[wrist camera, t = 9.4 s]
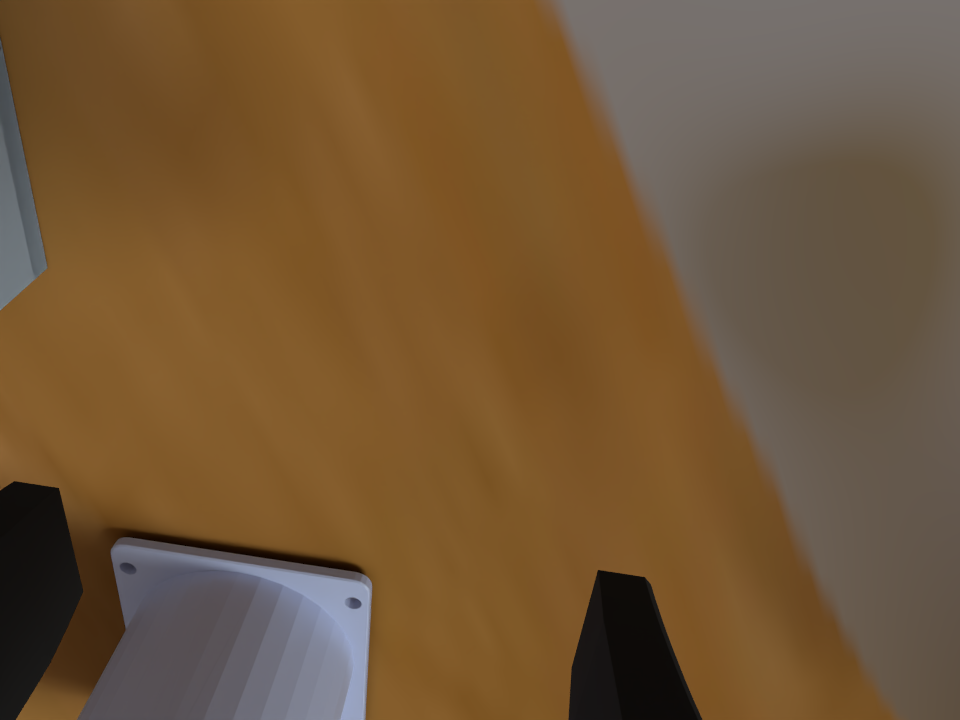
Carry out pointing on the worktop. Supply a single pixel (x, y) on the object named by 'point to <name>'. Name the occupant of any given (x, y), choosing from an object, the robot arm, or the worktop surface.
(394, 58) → the worktop surface
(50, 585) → the robot arm
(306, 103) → the worktop surface
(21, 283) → the big crate
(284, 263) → the worktop surface
